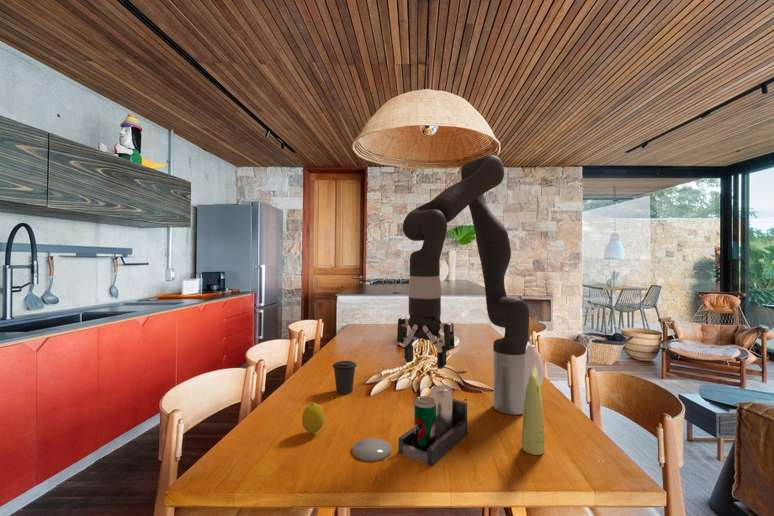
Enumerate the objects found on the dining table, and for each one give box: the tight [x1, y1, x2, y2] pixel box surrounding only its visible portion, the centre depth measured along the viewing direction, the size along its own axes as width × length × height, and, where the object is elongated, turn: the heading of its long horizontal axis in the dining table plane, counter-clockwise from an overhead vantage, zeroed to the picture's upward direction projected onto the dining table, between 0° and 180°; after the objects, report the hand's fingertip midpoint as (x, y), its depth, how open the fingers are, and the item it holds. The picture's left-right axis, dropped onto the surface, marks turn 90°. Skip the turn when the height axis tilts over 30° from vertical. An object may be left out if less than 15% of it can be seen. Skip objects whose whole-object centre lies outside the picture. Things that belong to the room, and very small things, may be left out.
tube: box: [521, 363, 545, 456], centre depth 83 cm, size 6×5×20 cm
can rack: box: [397, 398, 468, 467], centre depth 86 cm, size 18×9×8 cm, turn 143°
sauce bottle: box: [526, 337, 545, 389], centre depth 121 cm, size 8×8×18 cm
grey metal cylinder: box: [432, 384, 454, 441], centre depth 89 cm, size 5×5×12 cm
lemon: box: [301, 402, 325, 435], centre depth 91 cm, size 6×6×8 cm
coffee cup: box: [332, 360, 357, 396], centre depth 120 cm, size 8×8×10 cm
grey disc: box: [351, 437, 392, 462], centre depth 83 cm, size 9×9×1 cm
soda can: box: [413, 395, 437, 452], centre depth 83 cm, size 5×5×12 cm
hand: (424, 364), depth 83 cm, fingers open, 8 cm apart
